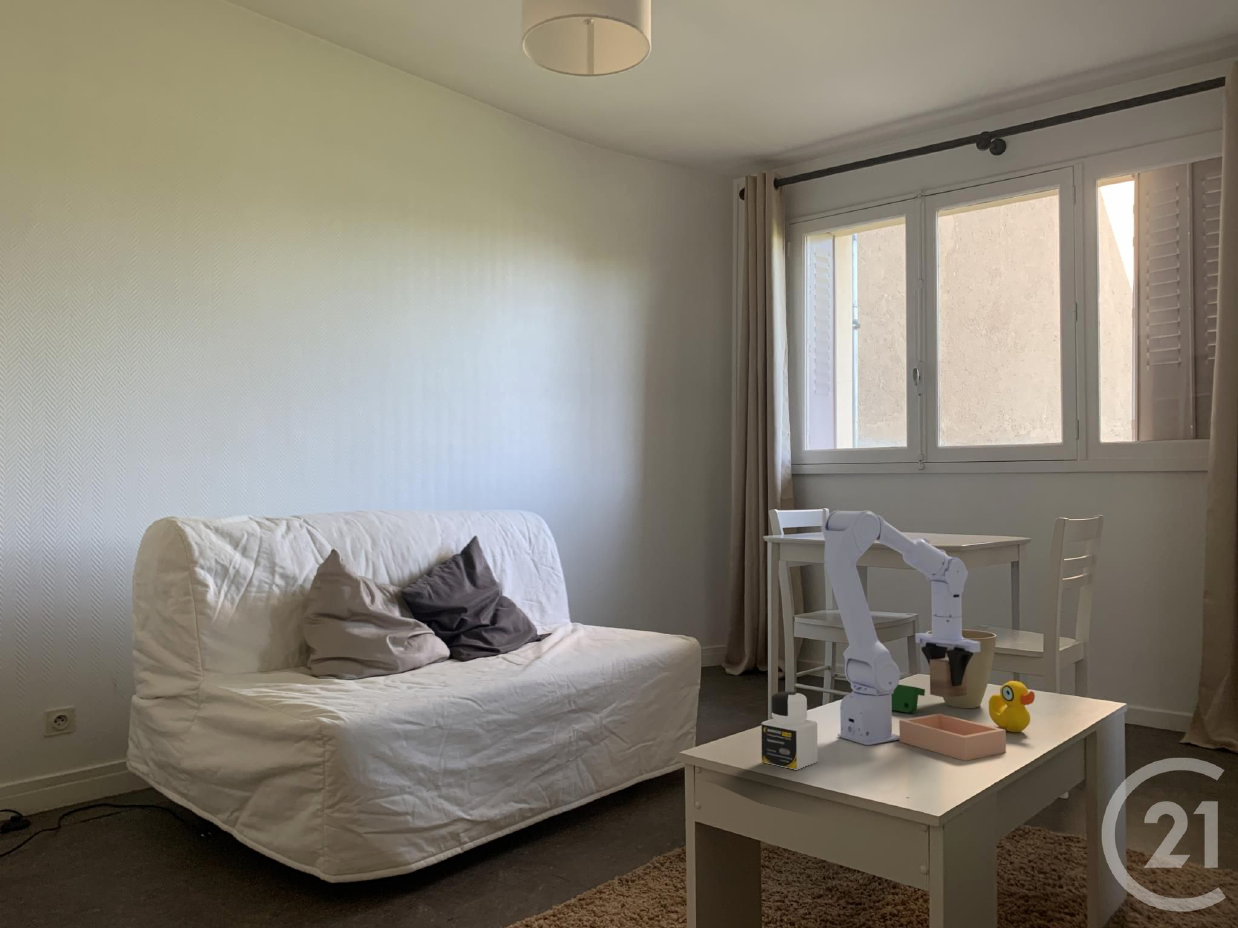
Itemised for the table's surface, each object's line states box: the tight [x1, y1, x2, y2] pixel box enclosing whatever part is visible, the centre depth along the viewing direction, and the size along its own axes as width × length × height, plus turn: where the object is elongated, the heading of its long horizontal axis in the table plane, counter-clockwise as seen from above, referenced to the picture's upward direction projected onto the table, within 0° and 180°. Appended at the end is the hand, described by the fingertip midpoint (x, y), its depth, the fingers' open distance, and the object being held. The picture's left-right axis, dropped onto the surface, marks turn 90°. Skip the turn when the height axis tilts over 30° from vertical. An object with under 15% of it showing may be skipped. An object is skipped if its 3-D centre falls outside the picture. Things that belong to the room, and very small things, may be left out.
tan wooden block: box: [929, 657, 967, 698], centre depth 185 cm, size 6×4×7 cm, turn 120°
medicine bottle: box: [760, 691, 819, 771], centre depth 160 cm, size 7×7×12 cm
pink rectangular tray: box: [898, 713, 1007, 761], centre depth 170 cm, size 11×15×4 cm
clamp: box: [891, 683, 926, 714], centre depth 202 cm, size 12×6×9 cm, turn 38°
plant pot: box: [925, 629, 997, 709], centre depth 206 cm, size 15×15×16 cm
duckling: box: [988, 680, 1036, 733], centre depth 182 cm, size 11×5×10 cm, turn 19°
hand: (947, 683), depth 185 cm, fingers closed on tan wooden block, 4 cm apart
